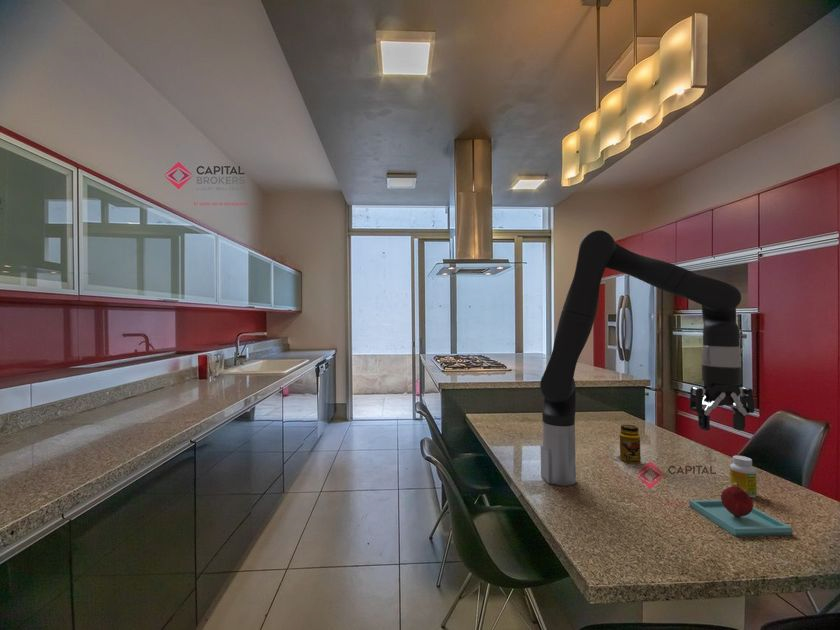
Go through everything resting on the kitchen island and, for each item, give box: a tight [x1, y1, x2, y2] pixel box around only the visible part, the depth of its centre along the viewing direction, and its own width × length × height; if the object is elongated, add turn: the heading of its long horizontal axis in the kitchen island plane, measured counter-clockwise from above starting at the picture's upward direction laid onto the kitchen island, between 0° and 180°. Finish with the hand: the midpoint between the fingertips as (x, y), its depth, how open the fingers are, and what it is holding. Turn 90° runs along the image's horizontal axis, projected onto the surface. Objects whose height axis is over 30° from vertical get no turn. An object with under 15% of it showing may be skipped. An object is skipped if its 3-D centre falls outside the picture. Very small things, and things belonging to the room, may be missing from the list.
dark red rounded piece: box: [720, 483, 754, 517], centre depth 86 cm, size 6×6×8 cm
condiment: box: [610, 424, 648, 467], centre depth 124 cm, size 7×8×12 cm
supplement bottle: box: [729, 455, 758, 498], centre depth 100 cm, size 5×5×10 cm
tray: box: [688, 499, 793, 537], centre depth 86 cm, size 13×13×2 cm
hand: (721, 429), depth 89 cm, fingers open, 8 cm apart
